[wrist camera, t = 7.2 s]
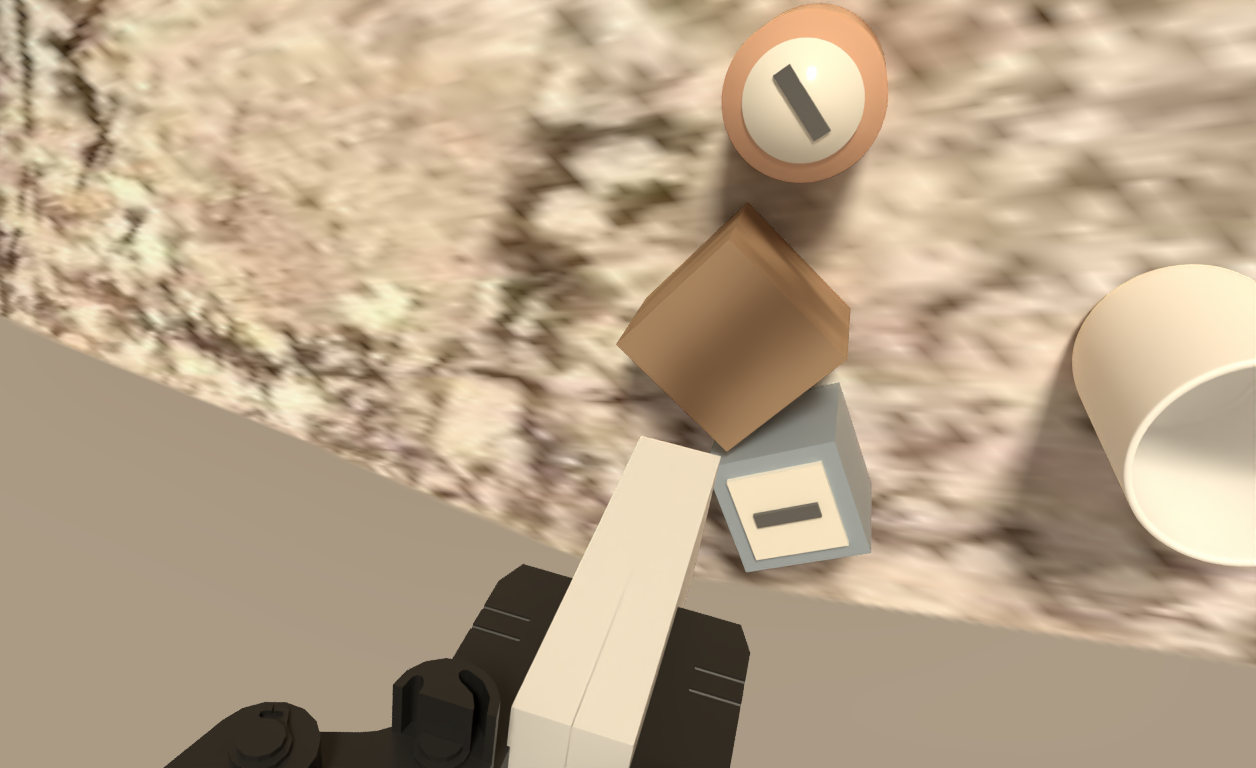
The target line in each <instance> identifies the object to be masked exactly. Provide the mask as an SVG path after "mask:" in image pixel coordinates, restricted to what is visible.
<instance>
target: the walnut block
mask: <svg viewBox="0 0 1256 768" xmlns="http://www.w3.org/2000/svg"><path fill="white" fill-rule="evenodd" d="M849 323H850V307H849V306H848V305H847V304H846V303H845V302H844V301H843V300H842V299H841V298H840V297H839V296H838V295H837V294H836V293H835V292H834V291H833V290H832V289H831V288H830V287H829V286H828V285H827V284H826V283H825V282H824V281H823V280H822V279H821V278H820V276H819V275H818V274H817V273H816V272H815V271H814V270H813V269H812V268H811V267H810V266H809V265H808V264H807V263H806V262H805V261H804V260H803V259H802V258H801V257H800V256H799V255H798V254H797V253H796V252H795V251H794V250H793V249H792V248H791V246H790V245H789V244H788V243H787V242H786V241H785V240H784V239H783V238H782V237H781V236H780V235H779V234H778V233H777V232H776V231H775V230H774V229H773V228H772V227H771V226H770V225H769V224H768V223H767V222H766V221H765V220H764V219H763V218H762V217H761V215H760V214H759V213H758V212H757V211H756V210H755V209H754V208H753V207H752V206H751V205H750V204H749V203H748V202H747V203H746V204H745V205H744V206H743V207H742V208H741V209H740V210H739V211H738V212H737V213H736V214H735V215H734V216H733V217H732V218H731V219H729V220H728V221H727V222H726V223H725V224H724V225H723V226H722V227H721V228H720V229H719V230H718V231H717V232H716V233H715V234H714V235H713V236H711V237H710V238H709V239H708V240H707V241H706V242H705V243H704V244H703V245H702V246H701V247H700V248H699V249H698V250H697V251H696V252H695V253H693V254H692V255H691V256H690V257H689V258H688V259H687V260H686V261H685V262H684V263H683V264H682V265H681V266H680V267H679V268H678V269H677V270H675V271H674V272H673V273H672V274H671V275H670V276H669V277H668V278H667V279H666V280H665V281H664V282H663V283H662V284H661V285H660V286H659V287H657V288H656V289H655V290H654V291H653V292H652V293H651V294H650V295H649V296H648V297H647V298H646V299H645V301H644V302H643V304H642V306H641V307H640V309H639V310H638V312H637V313H636V315H635V316H634V318H633V319H632V321H631V322H630V324H629V326H628V327H627V329H626V330H625V332H624V333H623V335H622V336H621V338H620V339H619V341H618V343H617V344H616V345H617V346H618V347H619V348H620V349H621V350H622V351H623V352H624V353H625V354H626V355H627V356H629V357H630V358H631V359H632V360H633V361H634V362H635V363H636V364H637V365H638V366H639V367H640V368H641V369H642V370H643V371H644V372H645V373H646V374H647V375H648V376H649V377H650V378H651V379H652V380H653V381H654V382H655V383H656V384H657V385H658V386H659V387H660V388H662V389H663V390H664V391H665V392H666V393H667V394H668V395H669V396H670V397H671V398H672V399H673V400H674V401H675V402H676V403H677V404H678V405H679V406H680V407H681V408H682V409H683V410H684V411H685V412H686V413H687V414H688V415H689V416H690V417H691V418H692V419H694V420H695V421H696V422H697V423H698V424H699V425H700V426H701V427H702V428H703V429H704V430H705V431H706V432H707V433H708V434H709V435H710V436H711V437H712V438H713V439H714V440H715V441H716V442H717V443H718V444H719V445H720V446H721V447H722V448H723V449H724V450H725V451H729V450H730V449H731V448H732V447H734V446H735V445H736V444H738V443H739V442H740V441H742V440H743V439H744V438H745V437H747V436H748V435H749V434H751V433H752V432H753V431H755V430H756V429H757V428H759V427H760V426H761V425H762V424H764V423H765V422H766V421H768V420H769V419H770V418H772V417H773V416H774V415H775V414H777V413H778V412H779V411H781V410H782V409H783V408H785V407H786V406H787V405H788V404H790V403H791V402H792V401H794V400H795V399H796V398H798V397H799V396H800V395H802V394H803V393H804V392H805V391H807V390H808V389H809V388H811V387H812V386H813V385H815V384H816V383H817V382H818V381H820V380H821V379H822V378H824V377H825V376H826V375H828V374H829V373H830V372H832V371H833V370H834V369H835V368H837V367H838V366H839V365H841V364H842V363H843V362H845V361H846V360H847V355H848V339H849Z"/></svg>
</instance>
